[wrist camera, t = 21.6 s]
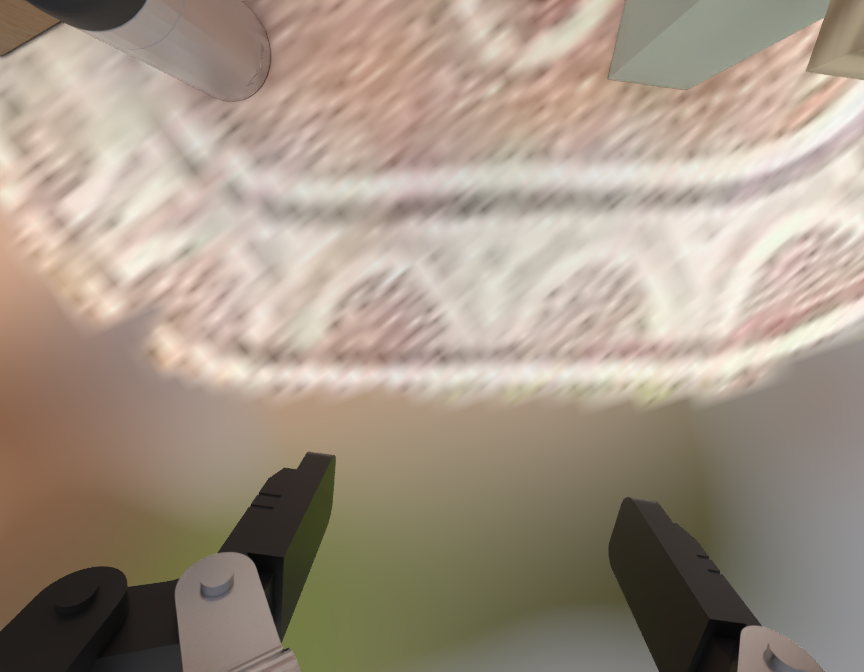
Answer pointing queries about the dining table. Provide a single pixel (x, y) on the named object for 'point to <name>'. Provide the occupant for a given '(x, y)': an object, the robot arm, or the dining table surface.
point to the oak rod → (840, 41)
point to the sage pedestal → (701, 36)
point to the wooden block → (21, 23)
